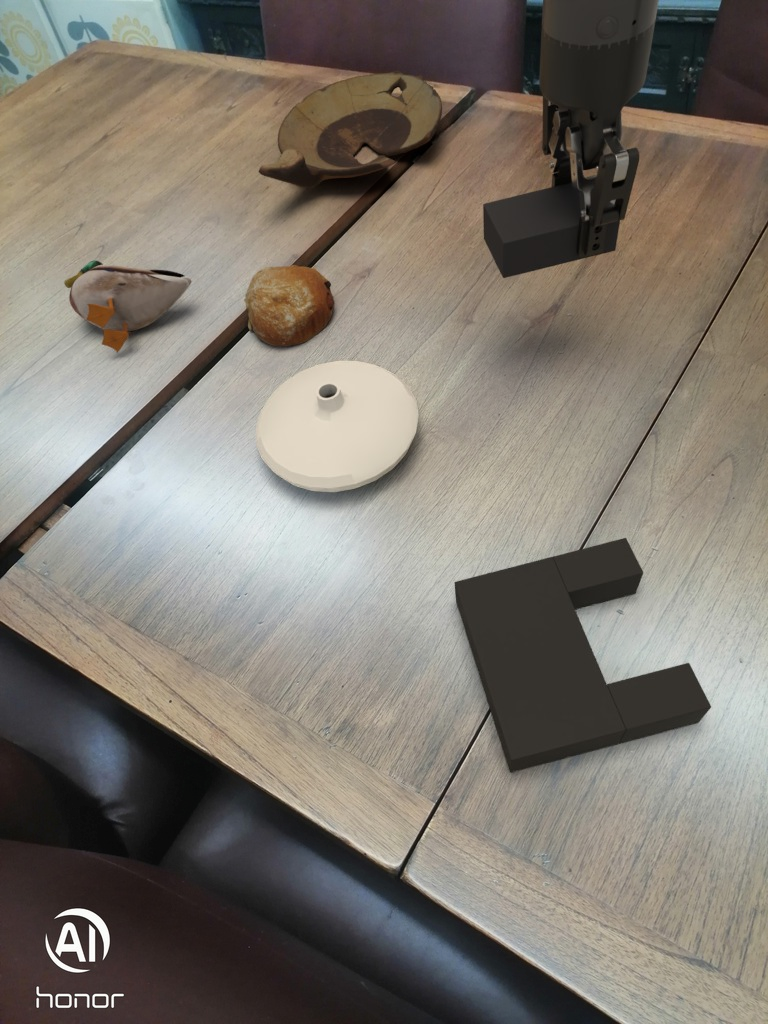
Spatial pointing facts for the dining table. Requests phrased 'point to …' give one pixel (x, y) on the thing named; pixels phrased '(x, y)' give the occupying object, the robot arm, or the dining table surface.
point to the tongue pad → (537, 230)
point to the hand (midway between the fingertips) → (575, 231)
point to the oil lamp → (354, 127)
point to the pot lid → (337, 426)
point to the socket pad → (564, 659)
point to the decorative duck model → (123, 297)
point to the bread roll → (288, 304)
